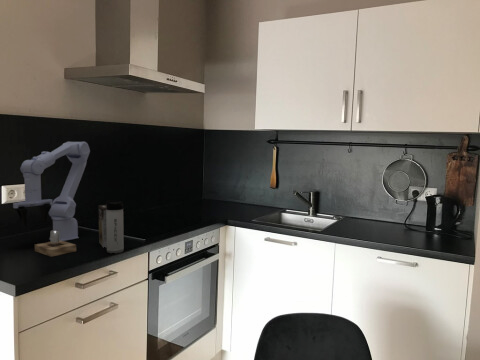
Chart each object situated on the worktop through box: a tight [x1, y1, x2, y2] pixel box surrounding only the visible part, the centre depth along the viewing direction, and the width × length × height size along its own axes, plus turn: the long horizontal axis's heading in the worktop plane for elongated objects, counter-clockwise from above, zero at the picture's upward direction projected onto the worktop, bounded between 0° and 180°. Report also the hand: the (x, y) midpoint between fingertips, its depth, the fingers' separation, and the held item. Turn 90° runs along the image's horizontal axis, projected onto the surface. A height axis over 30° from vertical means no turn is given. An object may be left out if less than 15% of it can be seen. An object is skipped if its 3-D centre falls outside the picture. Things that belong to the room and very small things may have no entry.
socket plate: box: [34, 240, 77, 258], centre depth 154 cm, size 10×12×2 cm
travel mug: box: [105, 199, 125, 254], centre depth 154 cm, size 6×7×20 cm
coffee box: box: [98, 204, 107, 248], centre depth 164 cm, size 9×6×16 cm
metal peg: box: [49, 229, 60, 247], centre depth 154 cm, size 3×3×8 cm
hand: (34, 224), depth 159 cm, fingers open, 7 cm apart
